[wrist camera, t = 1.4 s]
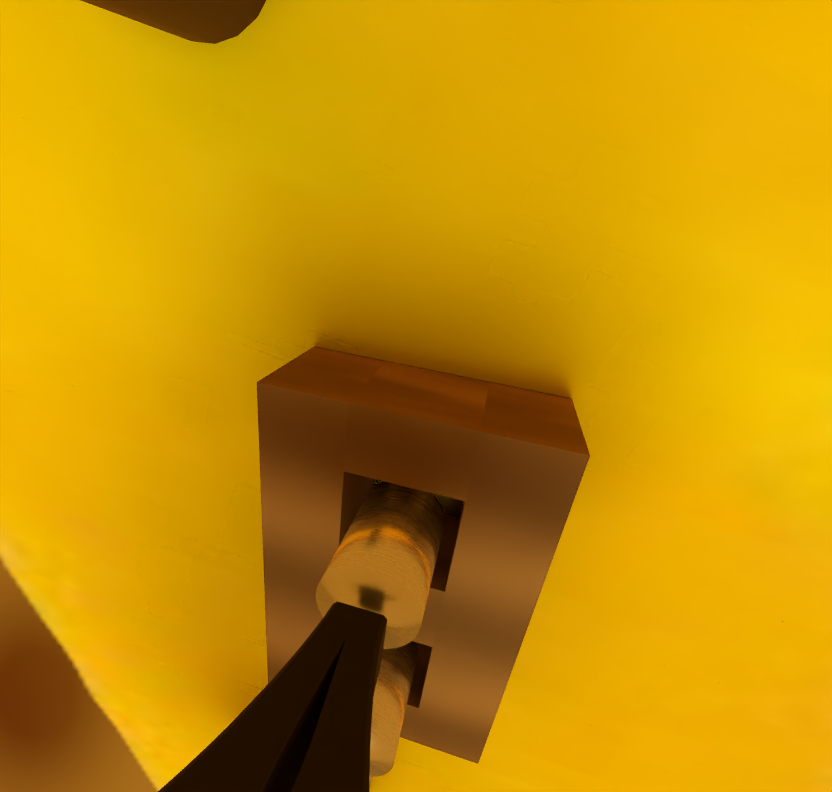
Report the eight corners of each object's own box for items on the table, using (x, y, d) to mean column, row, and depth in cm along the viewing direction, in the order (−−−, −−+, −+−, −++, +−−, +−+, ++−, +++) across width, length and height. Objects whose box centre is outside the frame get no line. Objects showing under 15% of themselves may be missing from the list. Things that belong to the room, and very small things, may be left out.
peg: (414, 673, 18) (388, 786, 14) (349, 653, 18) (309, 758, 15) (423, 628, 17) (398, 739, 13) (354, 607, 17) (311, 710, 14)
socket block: (484, 672, 21) (478, 763, 18) (307, 617, 23) (268, 691, 19) (571, 398, 15) (589, 455, 11) (314, 346, 16) (257, 382, 13)
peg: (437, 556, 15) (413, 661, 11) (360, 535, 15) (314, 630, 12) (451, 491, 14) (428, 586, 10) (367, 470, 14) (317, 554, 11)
